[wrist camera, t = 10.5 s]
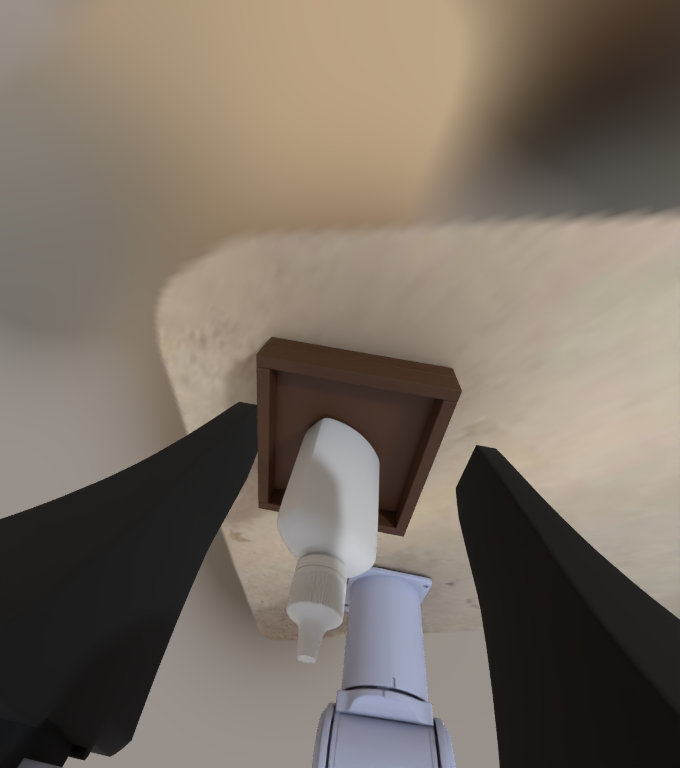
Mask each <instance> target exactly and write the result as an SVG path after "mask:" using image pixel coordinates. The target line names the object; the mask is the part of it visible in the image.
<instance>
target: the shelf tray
mask: <svg viewBox="0 0 680 768" xmlns="http://www.w3.org/2000/svg"><path fill="white" fill-rule="evenodd" d="M461 392H462V390H461V388H460V385H459V383H458V380H457V378H456V375H455V373H454V370H453V369H452V368H446V367H441V366H435V365H429V364H423V363H418V362H412V361H406V360H400V359H395V358H389V357H383V356H377V355H371V354H366V353H360V352H354V351H348V350H343V349H337V348H331V347H325V346H320V345H314V344H308V343H302V342H297V341H291V340H285V339H279V338H274V337H271V338H270V340H269V341H268V342H267V343H266V345H264V347H263V348H262V349H261V350H260V351H259V352H258V354H257V424H258V497H259V508H262V509H267V510H272V511H277V512H279V510H280V506H281V503H282V500H283V497H284V494H285V491H286V488H287V485H288V482H289V479H290V477H291V474H292V471H293V468H294V465H295V462H296V459H297V456H298V453H299V450H300V448H301V445H302V442H303V439H304V436H305V434H306V432H307V430H308V429H310V428H311V427H312V426H313V425H314V424H315V423H317V422H318V421H319V420H321V419H323V418H331V419H334V420H337V421H339V422H342V423H344V424H346V425H348V426H349V427H351V428H353V429H354V430H356V431H357V432H358V433H360V434H361V435H362V436H363V437H364V438H365V439H366V440H367V441H368V442H369V444H370V445H371V446H372V448H373V449H374V451H375V452H376V454H377V456H378V459H379V505H378V532H383V533H388V534H393V535H398V536H404V534H405V532H406V529H407V527H408V524H409V522H410V519H411V517H412V514H413V512H414V509H415V507H416V504H417V502H418V499H419V497H420V494H421V492H422V489H423V487H424V484H425V482H426V479H427V477H428V474H429V472H430V469H431V467H432V464H433V462H434V459H435V457H436V454H437V452H438V449H439V447H440V444H441V442H442V439H443V437H444V434H445V432H446V429H447V427H448V424H449V422H450V419H451V417H452V414H453V412H454V409H455V407H456V404H457V402H458V399H459V397H460V394H461Z"/></svg>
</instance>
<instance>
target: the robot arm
mask: <svg viewBox="0 0 680 768" xmlns="http://www.w3.org/2000/svg"><path fill="white" fill-rule="evenodd" d="M257 452H258V433H257V405H254V404H248V403H243V402H238V403H237V404H235V405H233V406H232V407H230V408H229V409H227V410H226V411H224V412H223V413H221V414H220V415H218V416H217V417H215V418H214V419H212V420H211V421H209V422H208V423H206V424H204V425H203V426H201V427H200V428H198V429H197V430H195V431H193V432H192V433H190V434H189V435H187V436H185V437H184V438H182V439H180V440H178V441H177V442H175V443H173V444H172V445H170V446H168V447H166V448H165V449H163V450H161V451H159V452H158V453H156V454H154V455H152V456H150V457H149V458H147V459H145V460H143V461H141V462H139V463H137V464H135V465H133V466H131V467H129V468H127V469H125V470H123V471H121V472H118V473H116V474H114V475H112V476H110V477H108V478H105V479H103V480H101V481H98V482H96V483H94V484H91V485H89V486H86V487H84V488H82V489H79V490H77V491H75V492H72V493H70V494H67V495H65V496H63V497H60V498H58V499H55V500H52V501H50V502H47V503H44V504H42V505H39V506H36V507H34V508H31V509H28V510H25V511H23V512H20V513H17V514H14V515H11V516H8V517H6V518H3V519H0V768H62V766H63V765H64V763H65V761H66V760H67V758H68V757H73V758H77V759H81V760H85V759H86V758H87V757H88V755H89V754H90V752H93V753H97V754H101V755H105V756H109V757H110V756H112V755H114V754H116V753H117V752H118V751H120V750H121V749H122V748H124V747H125V746H126V745H127V744H128V743H129V742H130V741H131V740H132V737H133V735H134V732H135V729H136V727H137V724H138V721H139V718H140V716H141V713H142V710H143V708H144V705H145V702H146V700H147V697H148V694H149V692H150V689H151V686H152V684H153V681H154V678H155V676H156V673H157V670H158V668H159V665H160V663H161V660H162V658H163V655H164V653H165V650H166V648H167V645H168V643H169V640H170V637H171V635H172V633H173V630H174V627H175V625H176V622H177V620H178V618H179V616H180V613H181V611H182V608H183V606H184V604H185V601H186V599H187V596H188V594H189V592H190V589H191V587H192V585H193V582H194V580H195V578H196V575H197V573H198V571H199V569H200V566H201V564H202V562H203V559H204V557H205V555H206V553H207V551H208V549H209V547H210V545H211V543H212V541H213V539H214V537H215V536H216V534H217V532H218V530H219V528H220V526H221V525H222V523H223V521H224V519H225V517H226V516H227V514H228V512H229V510H230V508H231V507H232V505H233V503H234V501H235V499H236V498H237V496H238V494H239V492H240V490H241V488H242V486H243V485H244V483H245V481H246V479H247V477H248V474H249V472H250V470H251V467H252V465H253V462H254V460H255V457H256V454H257ZM456 497H457V507H458V515H459V521H460V525H461V530H462V534H463V538H464V542H465V546H466V550H467V554H468V558H469V562H470V566H471V570H472V574H473V578H474V582H475V586H476V590H477V594H478V599H479V604H480V609H481V614H482V621H483V628H484V634H485V641H486V647H487V654H488V662H489V670H490V678H491V685H492V693H493V702H494V711H495V721H496V731H497V740H498V751H499V763H500V768H680V619H678V618H677V617H676V616H674V615H673V614H672V613H671V612H669V611H668V610H667V609H666V608H664V607H663V606H662V605H660V604H659V603H658V602H657V601H655V600H654V599H653V598H651V597H650V596H649V595H648V594H647V593H645V592H644V591H643V590H642V589H640V588H639V587H638V586H637V585H636V584H634V583H633V582H632V581H631V580H630V579H628V578H627V577H626V576H625V575H624V574H623V573H622V572H620V571H619V570H618V569H617V568H616V567H615V566H613V565H612V564H611V563H610V562H609V561H608V560H607V559H605V558H604V557H603V556H602V555H601V554H600V553H599V552H598V551H596V550H595V549H594V548H593V547H592V546H591V545H590V544H589V543H588V542H587V541H586V540H585V539H583V538H582V537H581V536H580V535H579V534H578V533H577V532H576V531H575V530H574V529H573V528H572V527H571V526H570V525H569V524H568V523H567V522H566V521H565V520H564V519H563V518H562V517H561V516H560V515H559V514H558V513H557V512H556V511H555V510H554V509H553V508H552V507H551V506H550V505H549V504H548V503H547V502H546V501H545V500H544V499H543V498H542V497H541V496H540V495H539V494H538V493H537V491H536V490H535V489H534V488H533V487H532V486H531V485H530V484H529V483H528V482H527V481H526V480H525V479H524V478H523V477H522V475H521V474H520V473H519V472H518V471H517V470H516V469H515V468H514V467H513V466H512V465H511V464H510V463H509V462H508V460H507V459H506V458H505V457H504V456H503V455H502V454H501V453H500V452H499V451H498V450H497V449H495V448H490V447H484V446H479V445H476V447H475V449H474V451H473V453H472V455H471V457H470V459H469V462H468V464H467V466H466V468H465V470H464V472H463V474H462V476H461V478H460V480H459V482H458V485H457V487H456ZM431 585H432V581H431V579H429V578H426V577H422V576H417V575H412V574H407V573H402V572H397V571H392V570H387V569H382V568H377V567H371V568H370V569H369V570H368V571H366V572H364V573H362V574H360V575H358V576H355V577H352V578H349V580H348V583H347V587H346V596H345V606H344V611H345V612H349V613H348V624H347V635H346V646H345V657H344V668H343V679H342V690H338V691H337V700H336V703H329V704H328V706H327V708H326V709H325V710H324V711H323V713H322V714H321V717H320V721H319V725H318V729H317V735H316V741H315V747H314V755H313V764H312V768H456V765H455V758H454V752H453V746H452V741H451V737H450V733H449V731H448V730H447V728H446V727H445V726H444V725H443V722H442V720H441V719H439V718H434V719H433V713H432V704H431V703H429V702H428V690H427V680H426V668H425V656H424V644H423V631H422V620H421V608H420V605H421V603H422V601H423V599H424V598H425V596H426V594H427V592H428V590H429V589H430V587H431Z"/></svg>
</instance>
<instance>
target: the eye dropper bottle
mask: <svg viewBox="0 0 680 768" xmlns="http://www.w3.org/2000/svg"><path fill="white" fill-rule="evenodd" d="M378 505H379V459H378V456H377V454H376V452H375V451H374V449H373V448H372V446H371V445H370V444H369V442H368V441H367V440H366V439H365V438H364V437H363V436H362V435H361V434H360V433H358V432H357V431H356V430H354V429H353V428H351V427H349V426H348V425H346V424H344V423H342V422H339V421H337V420H334V419H331V418H323V419H321V420H319V421H318V422H317V423H315V424H314V425H313V426H312V427H311V428H310V429H308V430H307V432H306V434H305V436H304V439H303V442H302V445H301V448H300V450H299V453H298V456H297V459H296V462H295V465H294V468H293V471H292V474H291V477H290V479H289V482H288V485H287V488H286V491H285V494H284V497H283V500H282V503H281V506H280V510H279V513H278V517H277V527H278V531H279V533H280V535H281V537H282V539H283V541H284V543H285V544H286V546H287V548H288V549H289V550H290V552H291V553H292V554H293V556H294V557H295V558H296V559H297V560H298V562H297V566H296V570H295V574H294V578H293V582H292V586H291V590H290V594H289V598H288V602H287V607H286V612H287V614H288V616H289V618H290V619H291V620H292V621H293V622H295V623H296V624H297V625H298V628H299V639H298V659H299V660H300V661H302V662H305V663H314V662H316V658H317V655H318V652H319V648H320V645H321V642H322V639H323V636H324V634H325V633H326V631H328V630H332V629H335V628H337V627H338V626H339V625H341V623H342V622H343V615H344V606H345V596H346V587H347V578H352V577H355V576H358V575H360V574H362V573H364V572H366V571H368V570H369V569H370V568H371V567H372V566H373V565H374V563H375V560H376V554H377V537H378Z"/></svg>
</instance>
